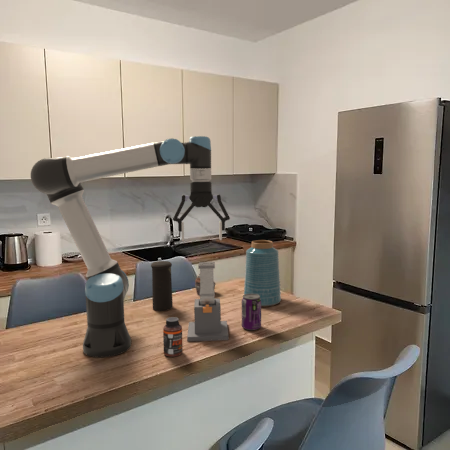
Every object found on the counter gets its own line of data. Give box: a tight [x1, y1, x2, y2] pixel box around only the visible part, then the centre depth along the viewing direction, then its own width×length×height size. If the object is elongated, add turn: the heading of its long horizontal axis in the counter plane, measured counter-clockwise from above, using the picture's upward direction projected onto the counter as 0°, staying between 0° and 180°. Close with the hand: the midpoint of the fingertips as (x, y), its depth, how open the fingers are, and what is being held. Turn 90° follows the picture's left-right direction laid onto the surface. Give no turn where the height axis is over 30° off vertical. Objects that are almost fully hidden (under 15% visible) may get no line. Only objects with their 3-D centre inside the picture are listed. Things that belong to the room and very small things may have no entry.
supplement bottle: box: [162, 316, 183, 358], centre depth 127 cm, size 6×6×11 cm
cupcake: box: [194, 273, 216, 297], centre depth 190 cm, size 10×10×10 cm
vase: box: [243, 239, 282, 308], centre depth 176 cm, size 16×16×27 cm
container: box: [150, 260, 174, 312], centre depth 170 cm, size 9×9×20 cm
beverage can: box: [241, 294, 262, 331], centre depth 148 cm, size 7×7×12 cm
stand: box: [186, 298, 229, 342], centre depth 144 cm, size 14×14×12 cm
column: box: [198, 261, 216, 306], centre depth 143 cm, size 6×6×23 cm
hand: (201, 240), depth 147 cm, fingers open, 13 cm apart
